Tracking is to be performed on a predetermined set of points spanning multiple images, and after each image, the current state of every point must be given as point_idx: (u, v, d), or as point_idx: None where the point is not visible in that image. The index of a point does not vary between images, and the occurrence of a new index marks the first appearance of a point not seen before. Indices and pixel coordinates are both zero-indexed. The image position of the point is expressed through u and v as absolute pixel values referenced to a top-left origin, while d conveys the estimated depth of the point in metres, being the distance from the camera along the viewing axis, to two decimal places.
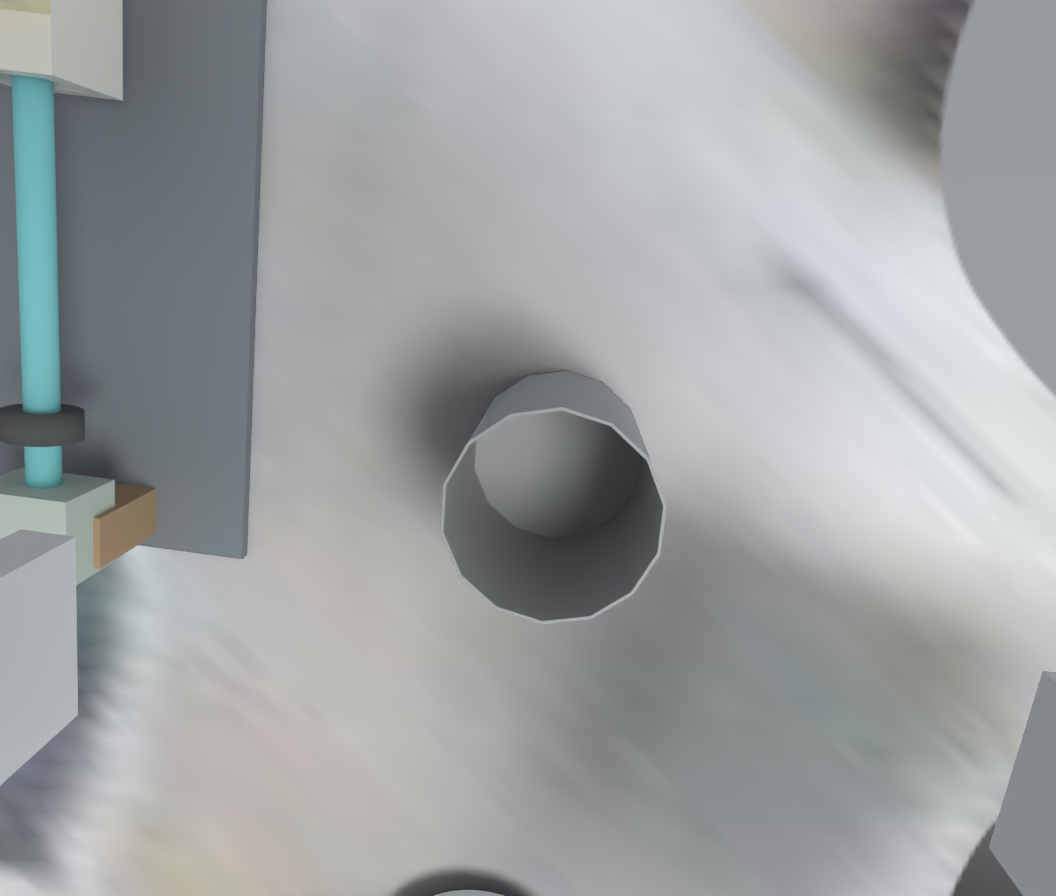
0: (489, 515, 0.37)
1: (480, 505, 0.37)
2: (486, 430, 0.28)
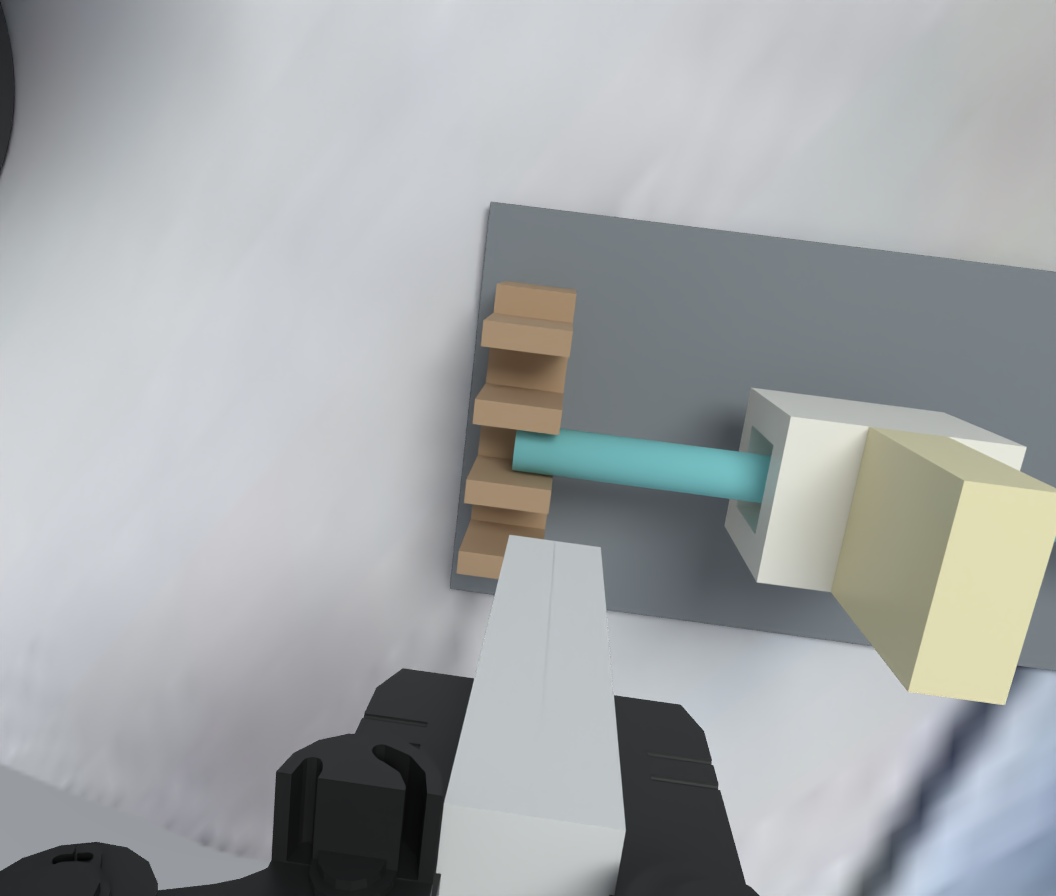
0: None
1: None
2: None
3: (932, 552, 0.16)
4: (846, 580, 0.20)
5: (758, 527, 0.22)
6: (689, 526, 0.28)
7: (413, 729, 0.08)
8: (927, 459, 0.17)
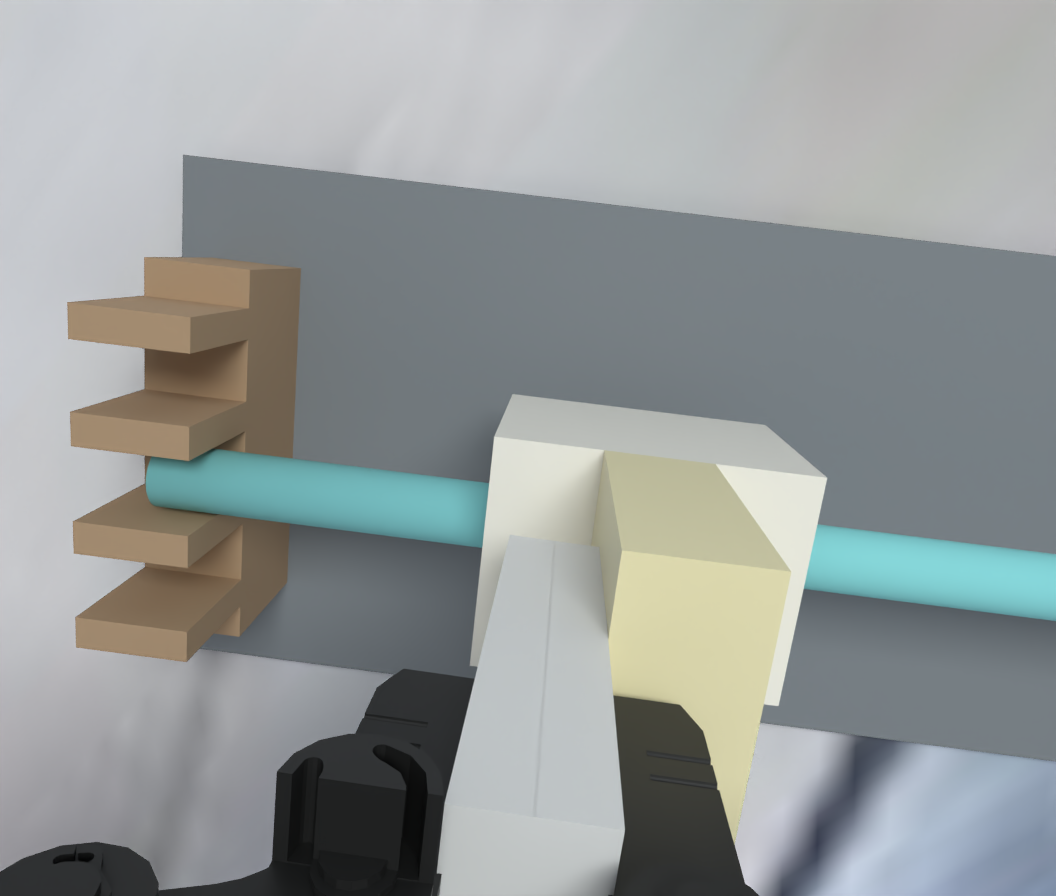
0: None
1: None
2: None
3: None
4: None
5: None
6: (467, 567, 0.23)
7: (414, 729, 0.08)
8: (615, 507, 0.11)
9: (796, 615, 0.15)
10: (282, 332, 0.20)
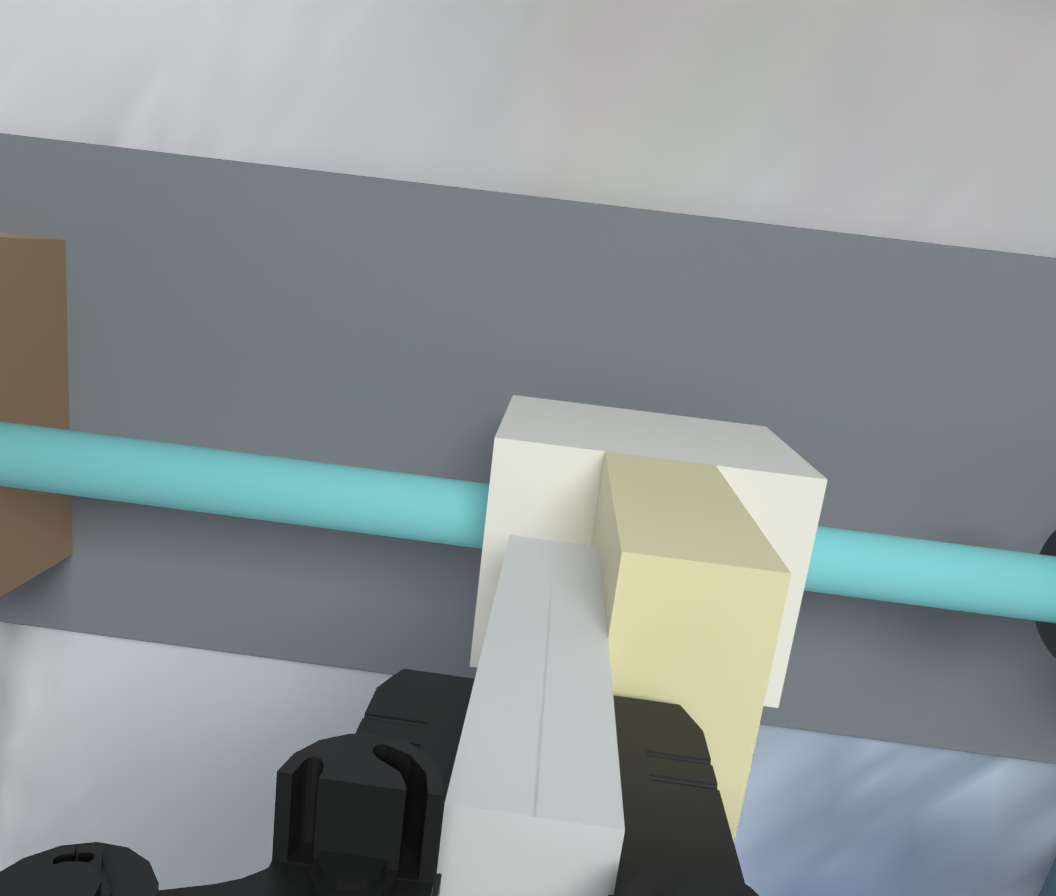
0: None
1: None
2: None
3: None
4: None
5: None
6: (248, 539, 0.23)
7: (413, 729, 0.08)
8: (615, 508, 0.11)
9: (796, 617, 0.15)
10: (37, 302, 0.20)
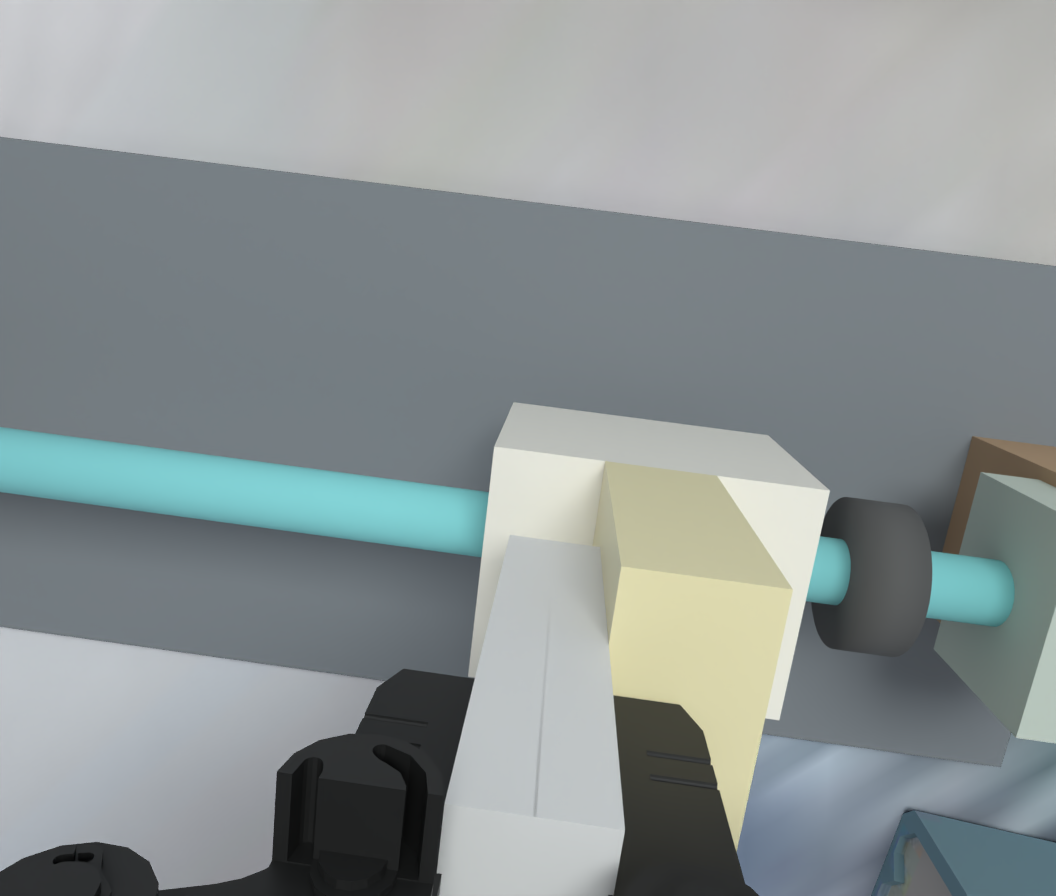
0: None
1: None
2: None
3: None
4: None
5: None
6: (72, 521, 0.23)
7: (413, 729, 0.08)
8: (615, 521, 0.11)
9: (798, 629, 0.15)
10: None
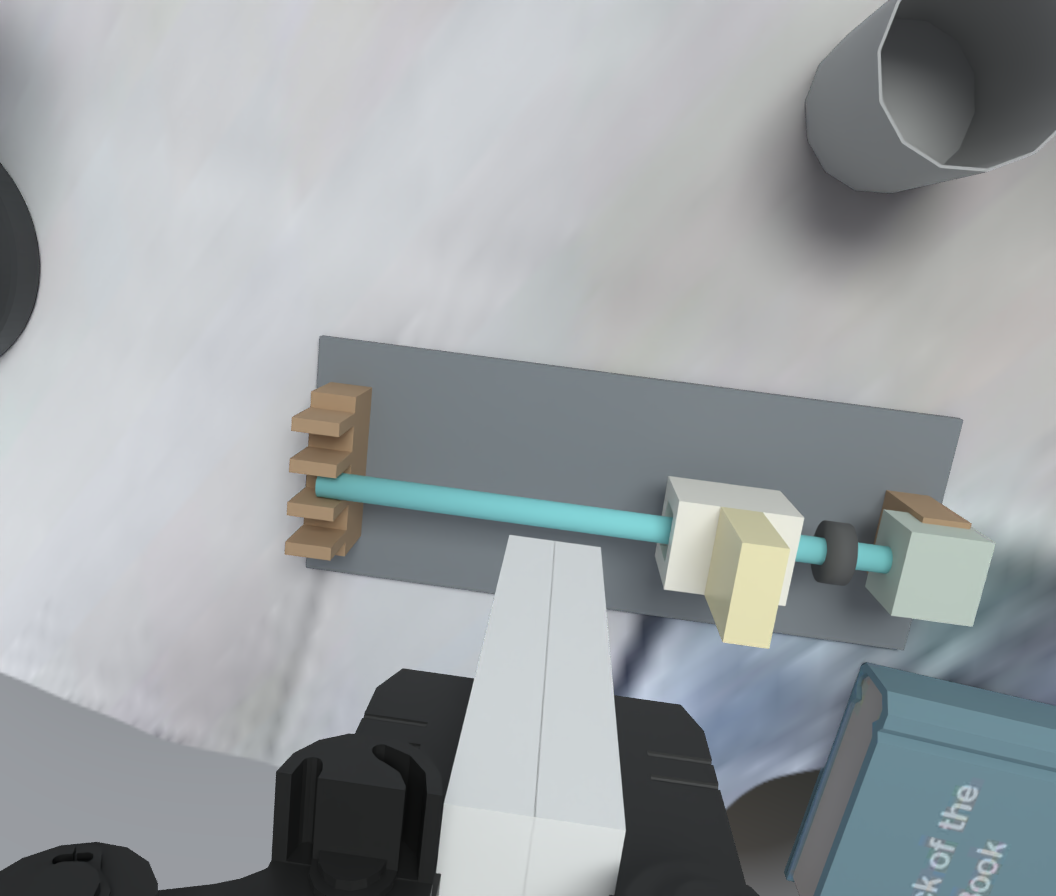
0: None
1: None
2: (892, 125, 0.32)
3: (733, 575, 0.34)
4: (709, 588, 0.38)
5: (666, 559, 0.39)
6: (449, 529, 0.46)
7: (413, 729, 0.08)
8: (734, 529, 0.34)
9: (792, 570, 0.38)
10: (364, 418, 0.44)
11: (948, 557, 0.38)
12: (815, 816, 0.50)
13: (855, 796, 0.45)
